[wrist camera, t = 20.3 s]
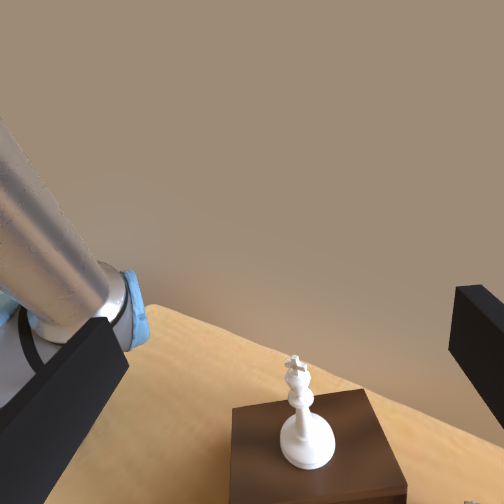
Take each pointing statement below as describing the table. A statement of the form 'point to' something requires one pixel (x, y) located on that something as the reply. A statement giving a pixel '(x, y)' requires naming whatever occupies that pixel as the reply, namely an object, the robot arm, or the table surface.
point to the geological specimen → (470, 502)
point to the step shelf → (323, 478)
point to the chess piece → (304, 423)
